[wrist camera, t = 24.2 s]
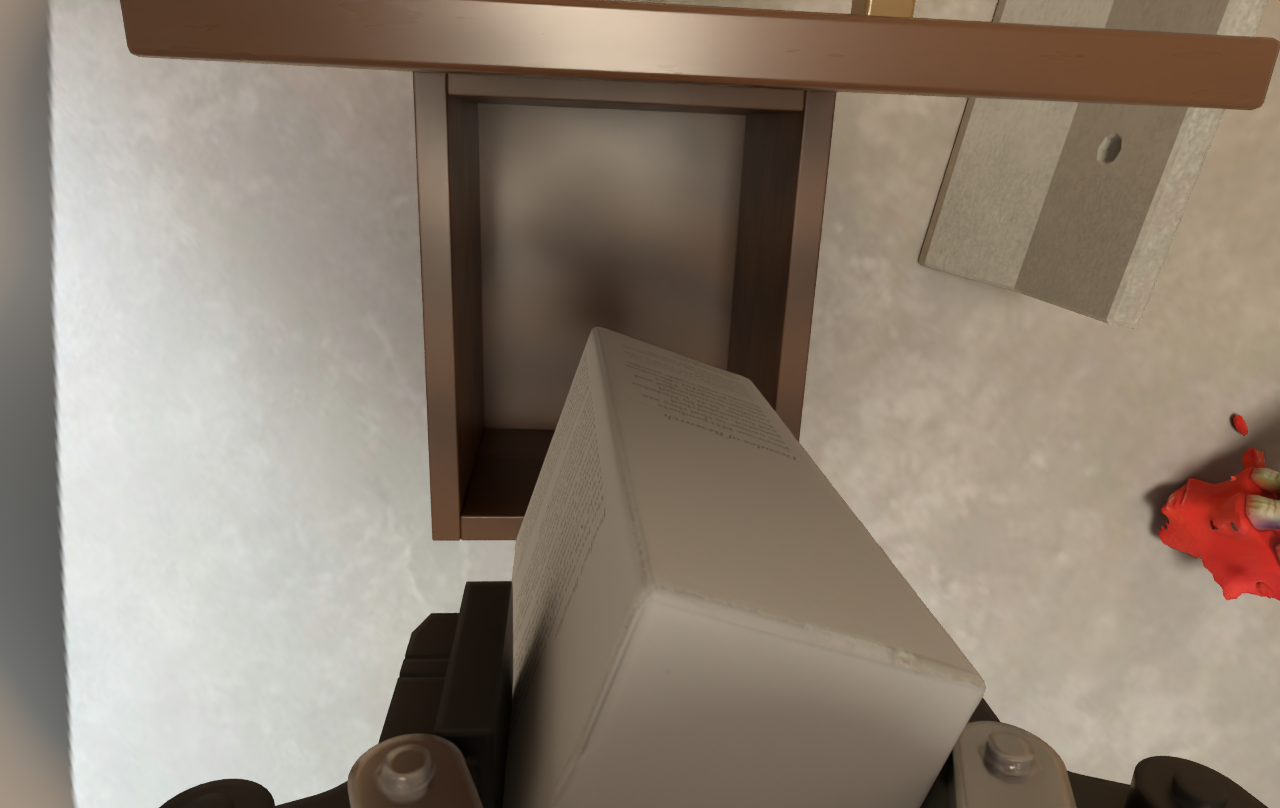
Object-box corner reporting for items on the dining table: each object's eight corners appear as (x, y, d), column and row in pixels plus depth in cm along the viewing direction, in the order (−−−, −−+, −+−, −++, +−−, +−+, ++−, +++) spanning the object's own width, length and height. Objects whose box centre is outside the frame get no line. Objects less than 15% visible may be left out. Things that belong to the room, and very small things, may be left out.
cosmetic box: (670, 582, 22) (782, 1079, 10) (513, 538, 21) (450, 1021, 10) (760, 371, 20) (1007, 689, 9) (593, 314, 19) (631, 582, 8)
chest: (737, 443, 40) (789, 540, 31) (465, 441, 39) (432, 541, 30) (766, 91, 35) (838, 78, 26) (455, 77, 34) (411, 57, 25)
